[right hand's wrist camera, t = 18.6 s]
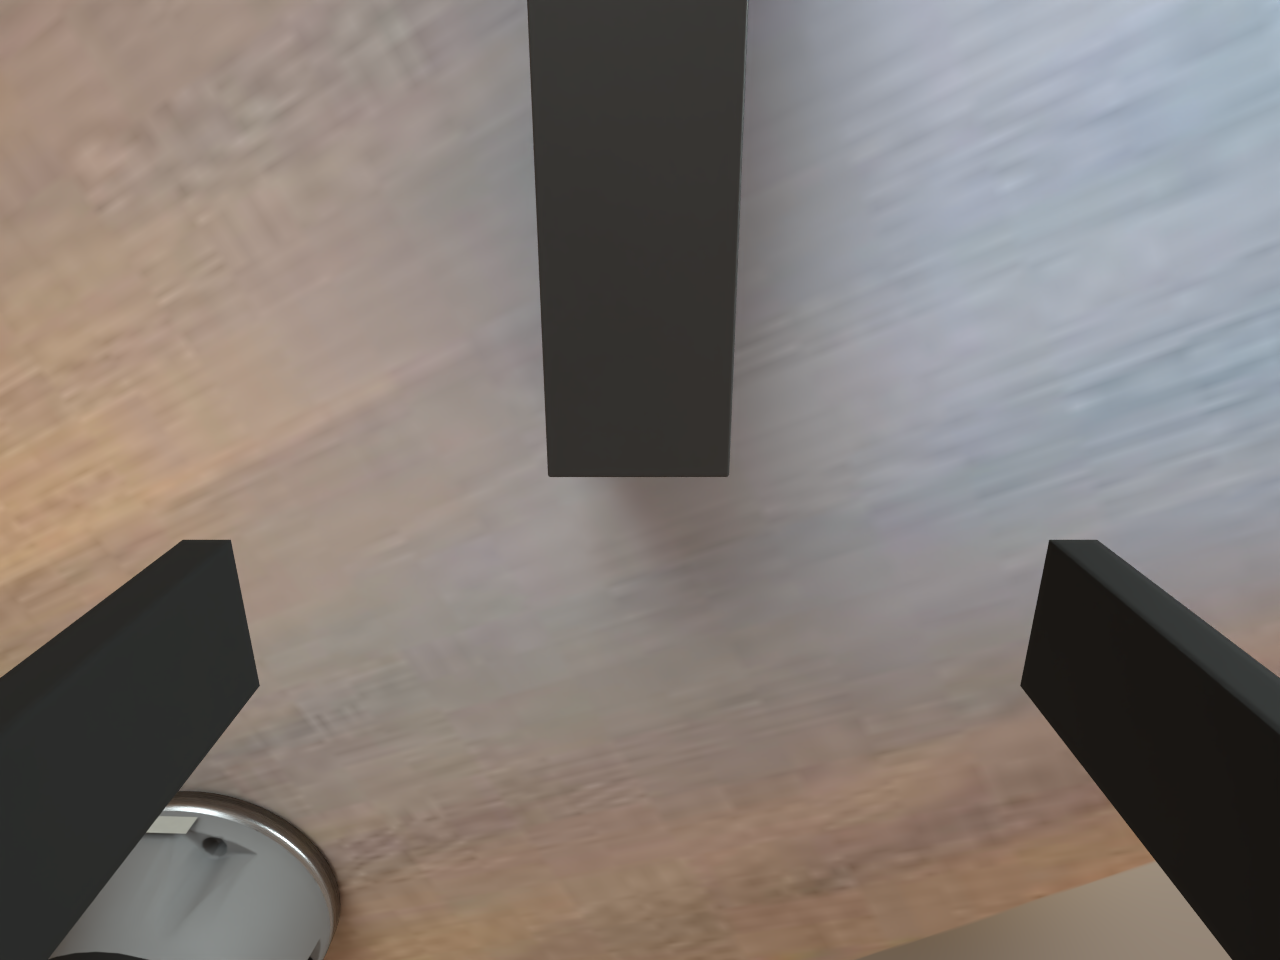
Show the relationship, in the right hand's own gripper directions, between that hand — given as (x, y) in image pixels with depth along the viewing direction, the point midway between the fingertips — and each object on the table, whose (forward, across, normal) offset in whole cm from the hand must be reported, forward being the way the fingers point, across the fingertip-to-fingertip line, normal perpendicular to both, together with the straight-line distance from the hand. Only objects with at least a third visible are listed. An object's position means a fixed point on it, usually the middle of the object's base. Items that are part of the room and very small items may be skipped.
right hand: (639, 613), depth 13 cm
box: (+24, 0, -10) cm, 26 cm away
